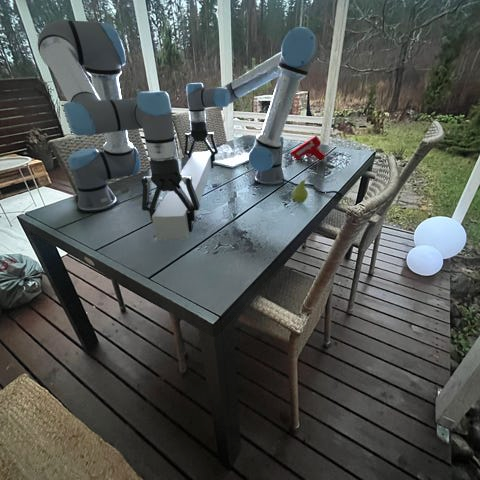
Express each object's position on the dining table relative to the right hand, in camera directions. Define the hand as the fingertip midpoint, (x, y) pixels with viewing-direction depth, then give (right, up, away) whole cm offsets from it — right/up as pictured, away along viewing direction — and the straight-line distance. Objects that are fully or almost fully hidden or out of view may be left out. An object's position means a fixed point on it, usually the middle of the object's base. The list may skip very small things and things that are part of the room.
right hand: (202, 167), depth 139 cm
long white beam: (-1, -18, -27) cm, 33 cm away
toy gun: (+63, +14, +36) cm, 74 cm away
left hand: (-1, -34, -55) cm, 65 cm away
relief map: (+9, +17, +41) cm, 46 cm away
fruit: (+46, -20, -18) cm, 53 cm away
